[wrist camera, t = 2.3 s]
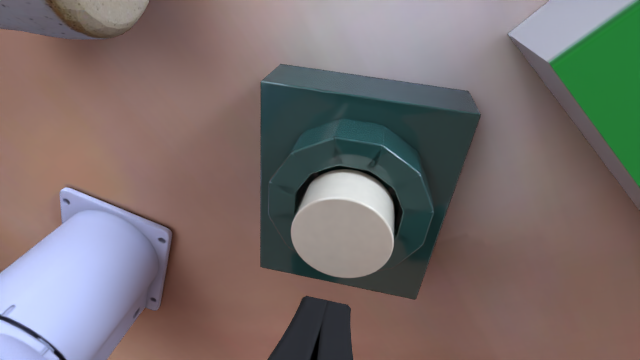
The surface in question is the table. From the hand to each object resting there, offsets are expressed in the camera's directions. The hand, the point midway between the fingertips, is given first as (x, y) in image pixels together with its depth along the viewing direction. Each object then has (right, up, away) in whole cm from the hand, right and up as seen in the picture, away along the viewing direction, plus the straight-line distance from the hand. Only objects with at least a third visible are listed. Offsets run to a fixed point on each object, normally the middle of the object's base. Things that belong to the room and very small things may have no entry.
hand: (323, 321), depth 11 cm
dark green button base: (+2, +4, +9) cm, 10 cm away
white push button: (+1, +3, +5) cm, 6 cm away
